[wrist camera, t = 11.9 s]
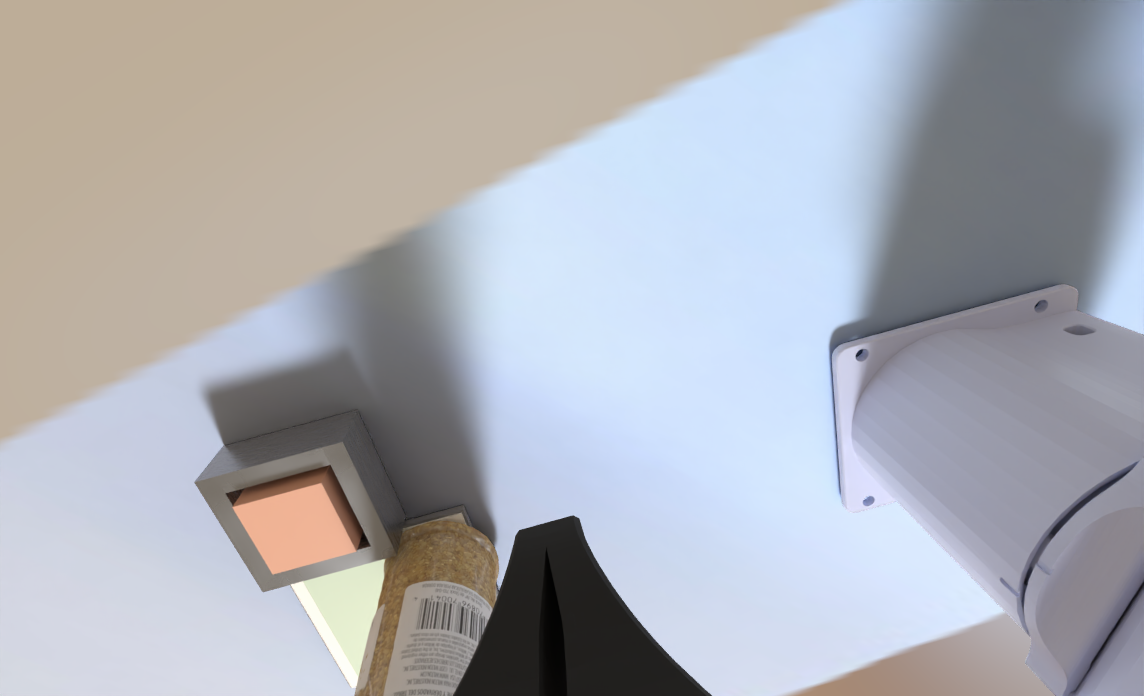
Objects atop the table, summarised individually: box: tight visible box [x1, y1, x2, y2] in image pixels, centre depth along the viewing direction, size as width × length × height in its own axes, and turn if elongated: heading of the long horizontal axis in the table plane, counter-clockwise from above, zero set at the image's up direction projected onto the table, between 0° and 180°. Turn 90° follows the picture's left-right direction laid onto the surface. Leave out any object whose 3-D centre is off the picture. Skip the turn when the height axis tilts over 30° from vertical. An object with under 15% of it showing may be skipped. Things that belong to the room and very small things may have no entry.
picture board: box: [290, 505, 499, 688], centre depth 25 cm, size 8×8×1 cm
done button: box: [232, 465, 363, 574], centre depth 21 cm, size 3×3×2 cm
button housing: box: [195, 410, 406, 592], centre depth 21 cm, size 5×5×2 cm
